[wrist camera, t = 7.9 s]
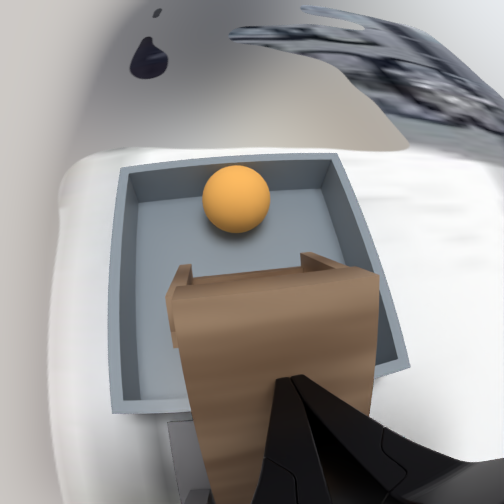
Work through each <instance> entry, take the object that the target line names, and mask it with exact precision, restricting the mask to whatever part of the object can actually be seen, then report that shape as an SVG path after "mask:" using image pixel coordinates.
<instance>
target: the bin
mask: <svg viewBox="0 0 504 504" xmlns="http://www.w3.org/2000/svg"><path fill="white" fill-rule="evenodd" d="M234 165H240V166H245V167H248V168H251V169H253V170H254V171H256V172H257V173H259V174H260V175H261V176H262V178H263V179H264V180H265V182H266V183H267V186H268V188H269V192H270V206H269V210H268V213H267V215H266V217H265V218H264V219H263V221H262V222H261V223H260V224H259V225H258V226H256V227H255V228H253V229H251V230H249V231H247V232H243V233H230V232H226V231H223V230H221V229H219V228H217V227H216V226H215V225H213V223H212V222H211V221H210V220H209V219H208V217H207V216H206V214H205V212H204V208H203V203H202V195H203V190H204V187H205V185H206V183H207V181H208V180H209V178H210V177H211V176H212V175H213V174H214V173H215V172H217V171H218V170H220V169H222V168H225V167H228V166H234ZM303 252H313V253H315V254H318V255H321V256H323V257H326V258H328V259H331V260H333V261H336V262H339V263H341V264H344V265H346V266H349V267H353V266H357V267H359V268H362V269H365V270H367V271H370V272H373V273H375V274H378V275H380V282H379V317H378V335H377V349H376V361H375V372H374V379H375V378H378V377H382V376H385V375H388V374H392V373H395V372H398V371H401V370H404V369H407V368H410V363H409V359H408V355H407V350H406V346H405V343H404V339H403V335H402V331H401V327H400V324H399V320H398V317H397V313H396V310H395V306H394V303H393V300H392V296H391V293H390V290H389V287H388V283H387V280H386V277H385V274H384V271H383V268H382V265H381V262H380V259H379V256H378V254H377V251H376V248H375V245H374V242H373V240H372V237H371V234H370V231H369V229H368V226H367V223H366V221H365V218H364V216H363V213H362V211H361V208H360V206H359V203H358V201H357V198H356V196H355V193H354V191H353V188H352V186H351V184H350V181H349V179H348V177H347V174H346V172H345V170H344V168H343V165H342V163H341V161H340V159H339V157H338V154H337V153H288V154H259V155H240V156H224V157H211V158H199V159H188V160H178V161H169V162H160V163H152V164H144V165H137V166H130V167H123V168H120V175H119V181H118V188H117V195H116V203H115V211H114V219H113V229H112V239H111V251H110V266H109V285H108V363H109V382H110V395H111V407H112V414H149V413H175V412H191V408H190V404H189V399H188V394H187V390H186V385H185V380H184V375H183V370H182V365H181V359H180V354H179V348H173V343H172V337H171V332H170V326H169V320H168V313H167V307H166V300H165V296H166V293H167V291H168V289H169V287H170V285H171V282H172V280H173V278H174V276H175V274H176V272H177V270H178V267H179V265H184V264H192V273H193V277H202V276H212V275H222V274H232V273H241V272H251V271H260V270H269V269H279V268H288V267H297V266H301V261H300V253H303Z"/></svg>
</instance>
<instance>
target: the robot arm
mask: <svg viewBox="0 0 504 504" xmlns="http://www.w3.org/2000/svg"><path fill="white" fill-rule="evenodd" d="M383 427H384V426H383V425H382V424H380V423H378V422H377V421H375V420H373V419H372V418H370V417H369V416H367V415H365V414H364V413H362V412H360V411H359V410H357V409H356V408H354V407H353V406H351V405H349V404H348V403H346V402H345V401H343V400H342V399H340V398H338V397H337V396H335V395H334V394H332V393H331V392H329V391H328V390H326V389H325V388H323V387H322V386H320V385H319V384H317V383H316V382H314V381H313V380H311V379H310V378H308V377H307V376H305V375H303V374H299V375H293V376H291V377H290V378H289V377H282V378H277V379H276V380H275V386H274V393H273V400H272V406H271V413H270V419H269V426H268V432H267V438H266V444H265V450H264V456H263V461H262V466H261V471H260V476H259V480H258V484H257V487H256V490H255V493H254V496H253V498H252V501H251V504H504V458H500V459H495V460H489V461H483V462H465V461H460V460H457V459H454V458H451V457H449V456H446V455H444V454H441V453H439V452H436V451H434V450H431V449H429V448H426V447H424V446H421V445H419V444H417V443H415V442H413V441H410V440H408V439H406V438H405V437H403V436H401V435H399V434H397V433H395V432H394V431H392V430H390V429H389V428H387V427H384V428H383Z"/></svg>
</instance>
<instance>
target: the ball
mask: <svg viewBox="0 0 504 504" xmlns="http://www.w3.org/2000/svg"><path fill="white" fill-rule="evenodd" d="M202 203H203V208H204V212H205V214H206V216H207V217H208V219H209V220H210V221H211V222H212V223H213V225H215V226H216V227H217V228H219V229H221V230H223V231H226V232H230V233H243V232H247V231H249V230H251V229H253V228H255V227H256V226H258V225H259V224H260V223H261V222H262V221H263V219H264V218H265V217H266V215H267V213H268V210H269V206H270V192H269V188H268V186H267V183H266V182H265V180H264V179H263V178H262V176H261V175H260V174H259V173H257V172H256V171H254V170H253V169H251V168H248V167H245V166H240V165H234V166H228V167H225V168H222V169H220V170H218V171H217V172H215V173H214V174H213V175H212V176H211V177H210V178H209V180H208V181H207V183H206V185H205V187H204V190H203V195H202Z"/></svg>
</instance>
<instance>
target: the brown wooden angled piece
mask: <svg viewBox="0 0 504 504" xmlns="http://www.w3.org/2000/svg"><path fill="white" fill-rule="evenodd" d="M300 261H301V266H297V267H288V268H279V269H269V270H260V271H251V272H241V273H232V274H222V275H212V276H202V277H193V273H192V264H184V265H179V267H178V270H177V272H176V274H175V276H174V278H173V280H172V282H171V285H170V287H169V289H168V291H167V293H166V296H165V300H166V307H167V313H168V320H169V326H170V332H171V337H172V343H173V348H179V354H180V359H181V365H182V370H183V375H184V380H185V385H186V390H187V394H188V399H189V404H190V408H191V413H192V417H193V421H194V426H195V430H196V434H197V438H198V442H199V446H200V450H201V454H202V458H203V461H204V465H205V469H206V472H207V476H208V479H209V483H210V486H211V490H212V493H213V496H214V500H215V503H216V504H251V501H252V498H253V496H254V493H255V490H256V487H257V484H258V480H259V476H260V471H261V466H262V461H263V456H264V450H265V444H266V438H267V432H268V426H269V419H270V413H271V406H272V400H273V393H274V386H275V380H276V379H277V378H282V377H289V378H290V377H291V376H293V375H299V374H303V375H305V376H307V377H308V378H310V379H311V380H313V381H314V382H316V383H317V384H319V385H320V386H322V387H323V388H325V389H326V390H328V391H329V392H331V393H332V394H334V395H335V396H337V397H338V398H340V399H342V400H343V401H345V402H346V403H348V404H349V405H351V406H353V407H354V408H356V409H357V410H359V411H360V412H362V413H364V414H365V415H367V416H369V413H370V405H371V398H372V390H373V381H374V372H375V361H376V349H377V335H378V317H379V282H380V275H378V274H375V273H373V272H370V271H367V270H365V269H362V268H359V267H357V266H353V267H349V266H346V265H344V264H341V263H339V262H336V261H333V260H331V259H328V258H326V257H323V256H321V255H318V254H315V253H313V252H303V253H300Z"/></svg>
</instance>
